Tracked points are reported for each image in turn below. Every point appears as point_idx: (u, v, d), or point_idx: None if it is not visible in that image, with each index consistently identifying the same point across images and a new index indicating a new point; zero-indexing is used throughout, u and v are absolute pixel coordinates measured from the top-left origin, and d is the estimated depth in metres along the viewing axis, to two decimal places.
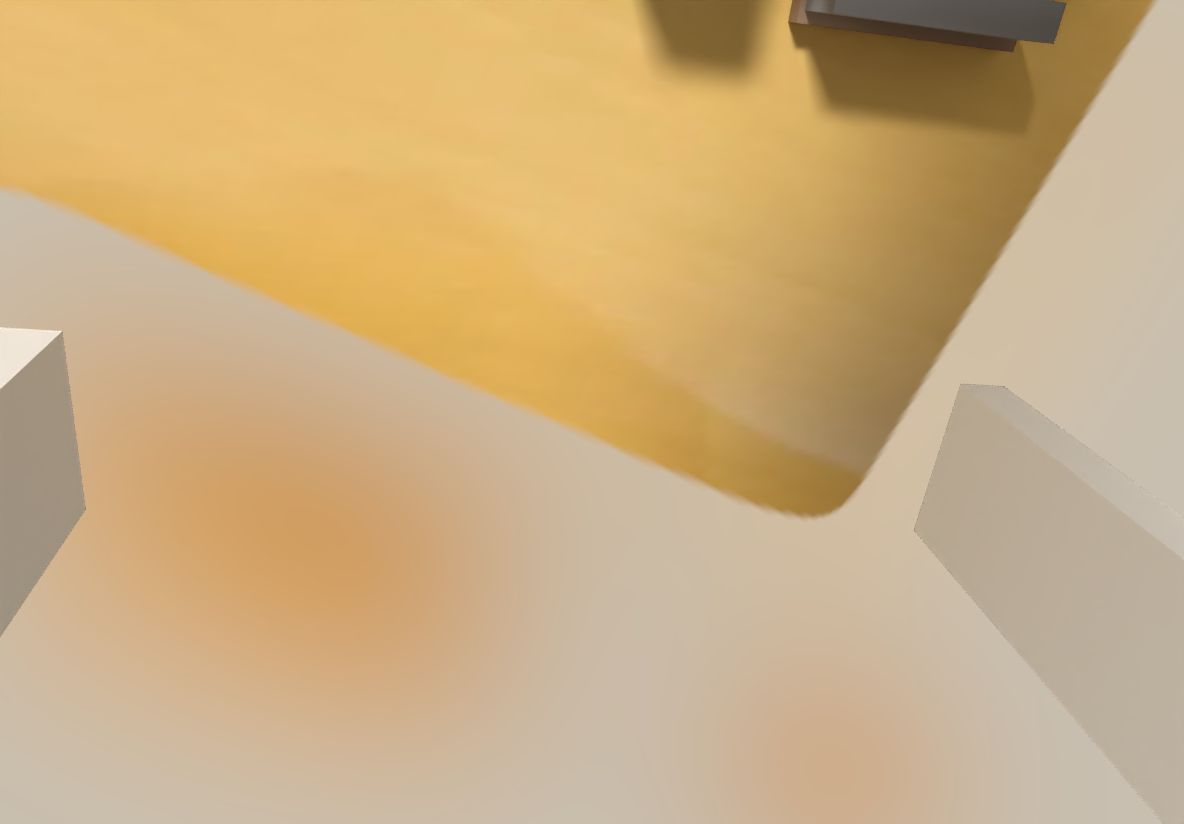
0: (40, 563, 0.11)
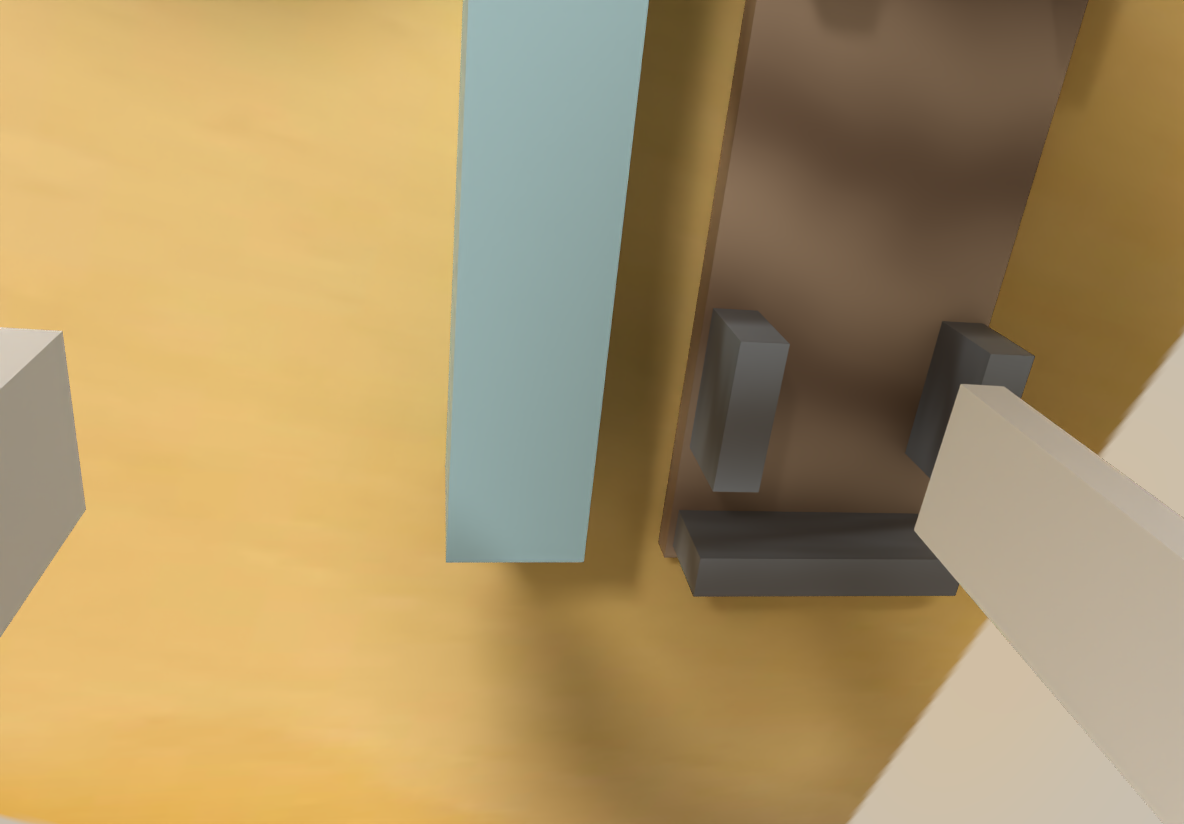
0: (40, 563, 0.11)
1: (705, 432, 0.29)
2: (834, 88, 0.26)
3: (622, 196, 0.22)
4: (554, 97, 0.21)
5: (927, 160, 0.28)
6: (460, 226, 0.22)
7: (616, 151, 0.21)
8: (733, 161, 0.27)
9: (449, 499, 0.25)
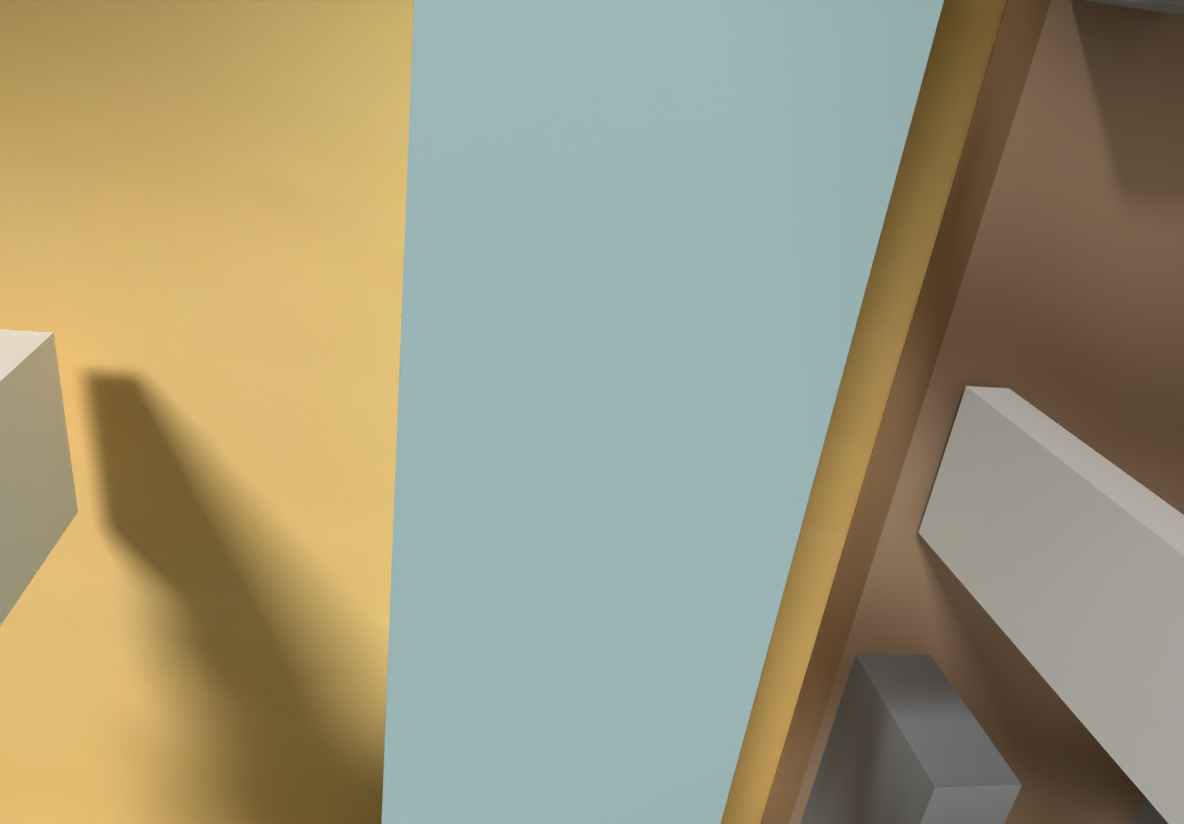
0: (31, 566, 0.11)
1: None
2: (1118, 308, 0.14)
3: (759, 647, 0.10)
4: (620, 468, 0.08)
5: None
6: (387, 722, 0.09)
7: (755, 566, 0.09)
8: (918, 430, 0.15)
9: None
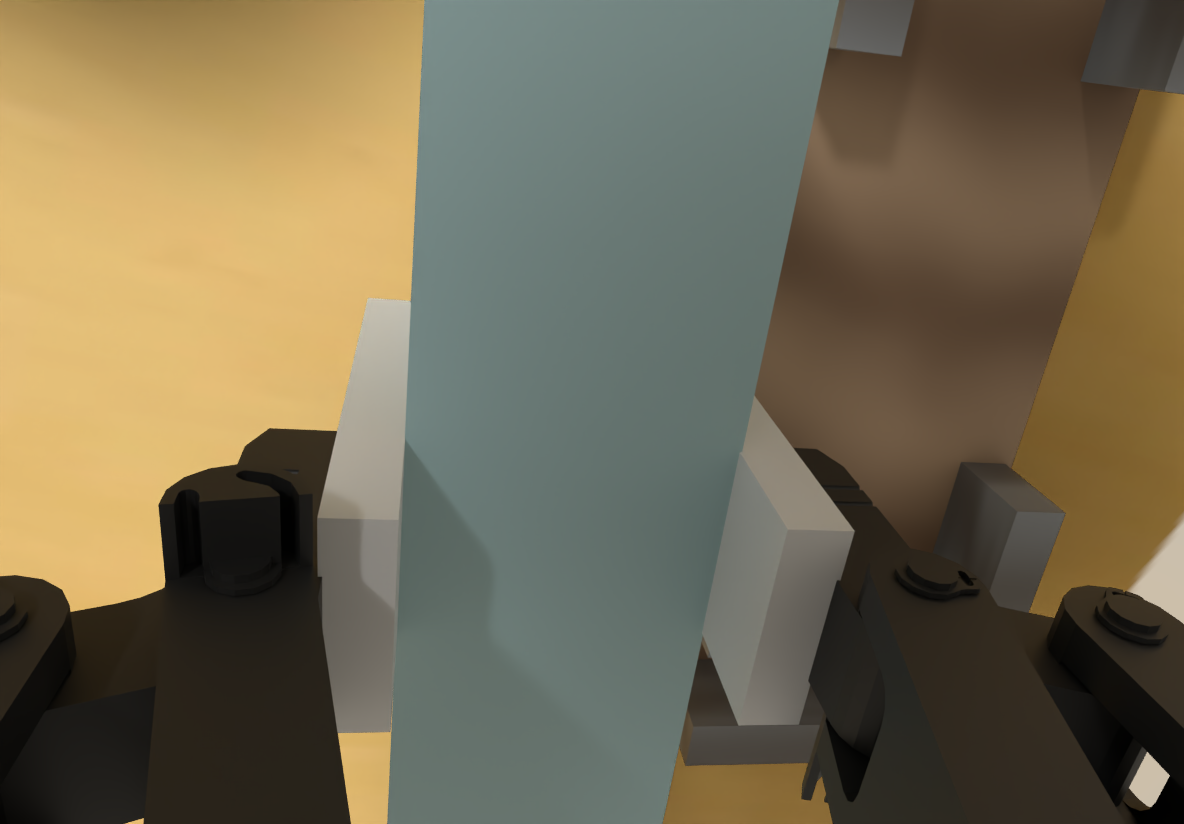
0: None
1: None
2: (845, 221, 0.24)
3: (706, 585, 0.12)
4: (586, 430, 0.10)
5: (947, 295, 0.25)
6: (397, 647, 0.11)
7: (699, 515, 0.11)
8: None
9: None
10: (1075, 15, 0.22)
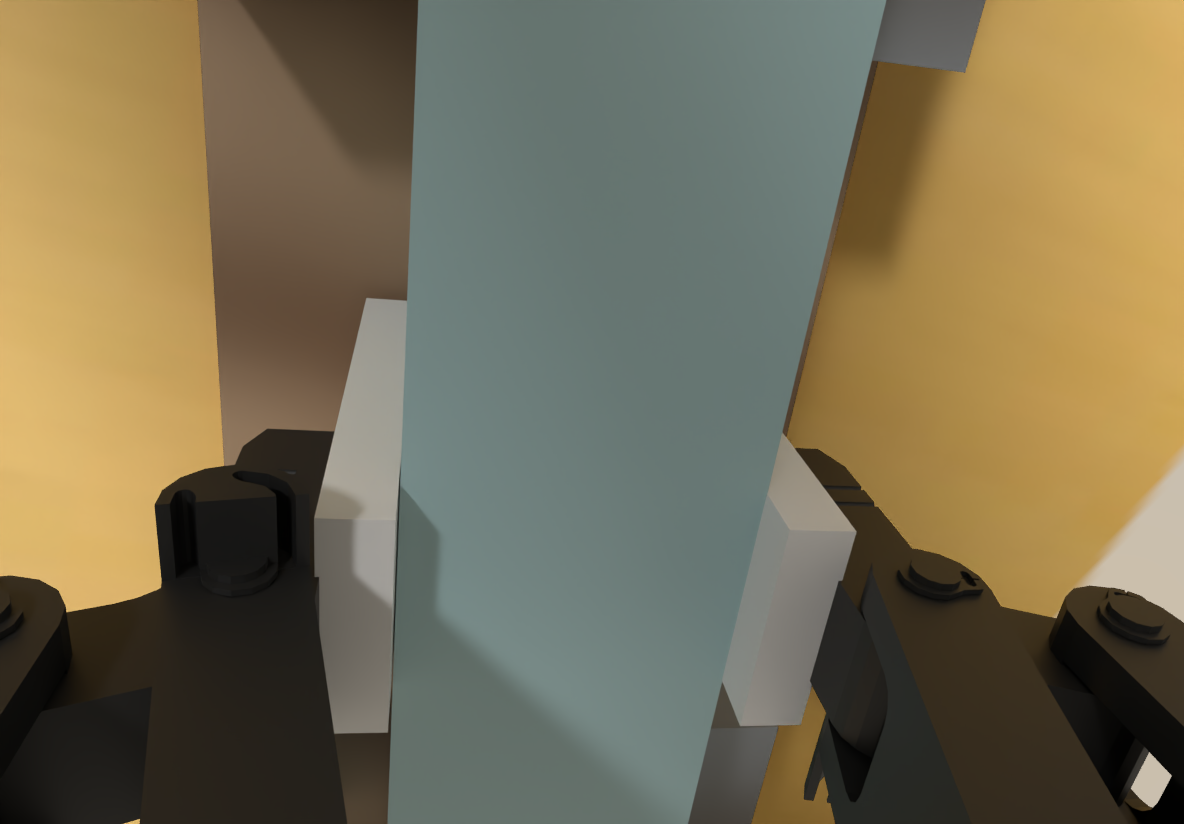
0: None
1: None
2: (396, 272, 0.14)
3: (726, 630, 0.11)
4: (598, 472, 0.10)
5: None
6: (394, 698, 0.10)
7: (721, 558, 0.10)
8: (230, 393, 0.15)
9: None
10: None
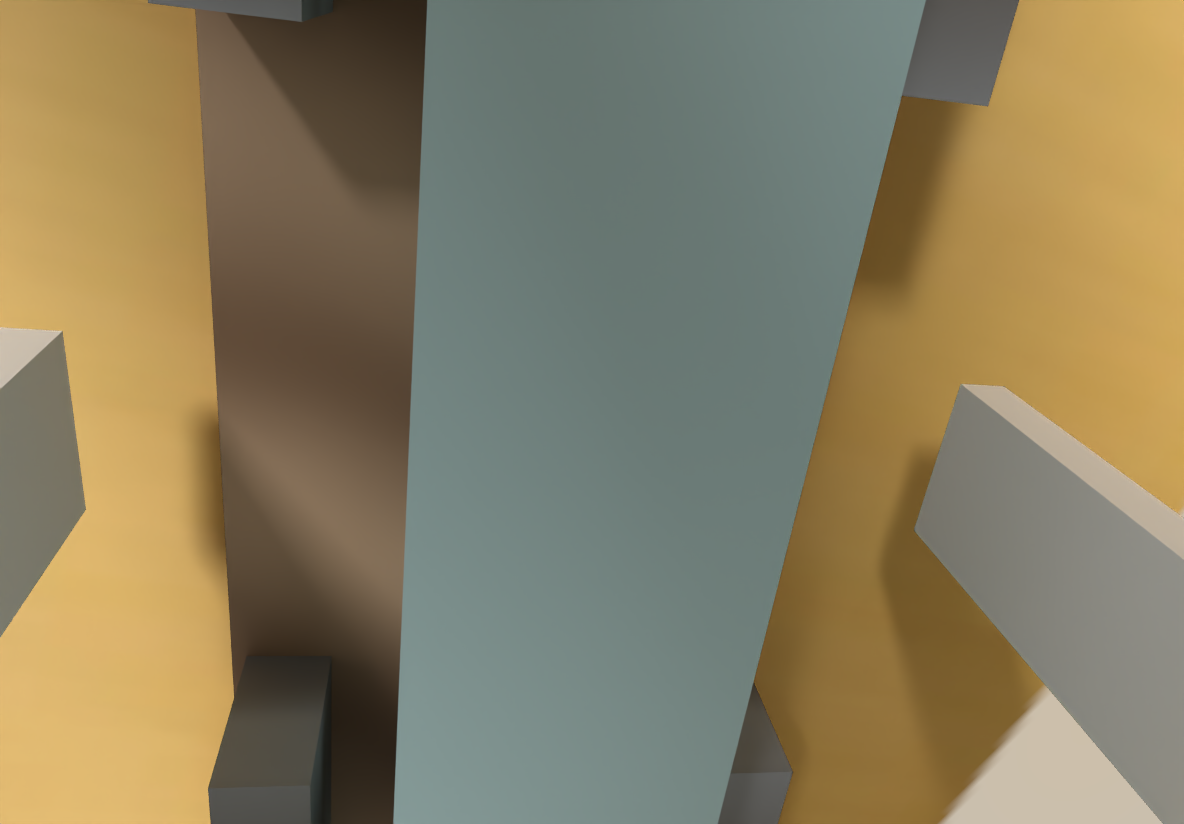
0: (40, 563, 0.11)
1: None
2: (400, 306, 0.14)
3: (744, 686, 0.10)
4: (611, 527, 0.09)
5: None
6: (398, 759, 0.10)
7: (739, 613, 0.10)
8: (229, 430, 0.15)
9: None
10: None
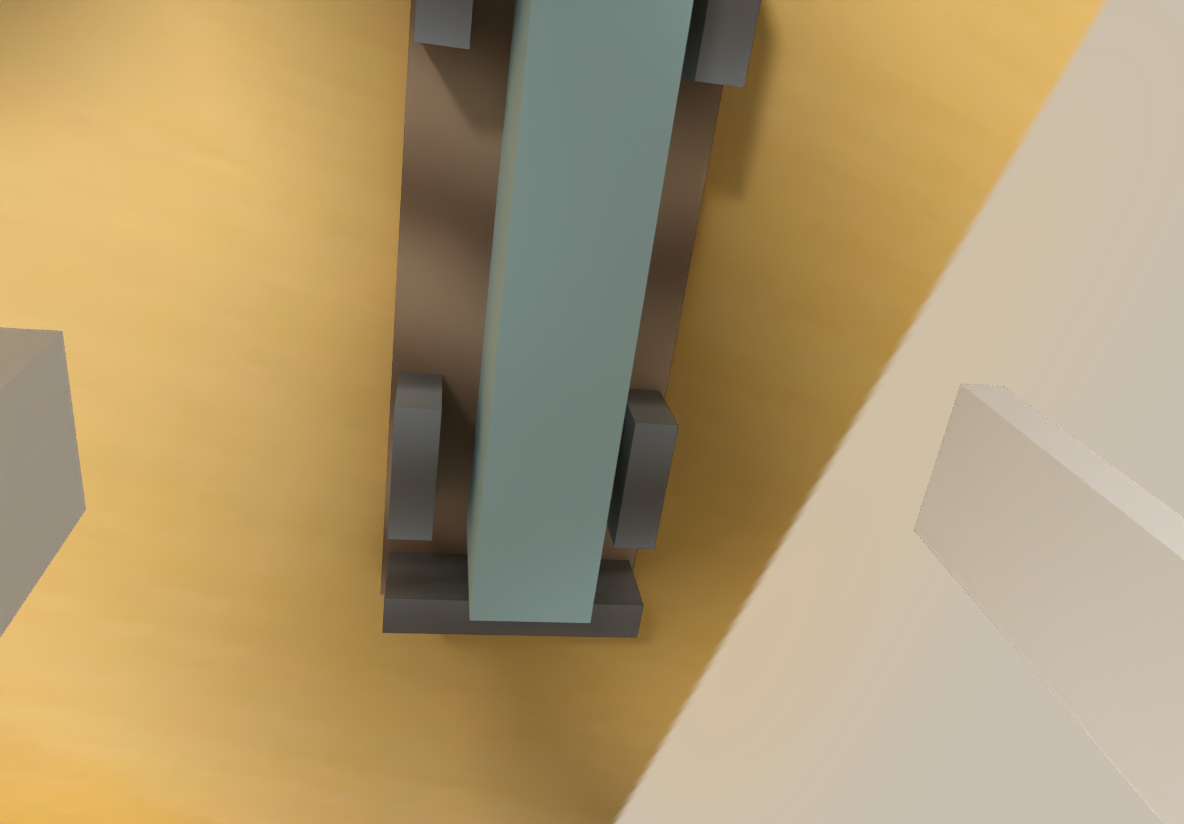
0: (41, 563, 0.11)
1: None
2: (488, 182, 0.29)
3: (637, 318, 0.26)
4: (583, 238, 0.24)
5: None
6: (498, 340, 0.25)
7: (634, 282, 0.25)
8: (402, 243, 0.30)
9: (475, 566, 0.28)
10: None
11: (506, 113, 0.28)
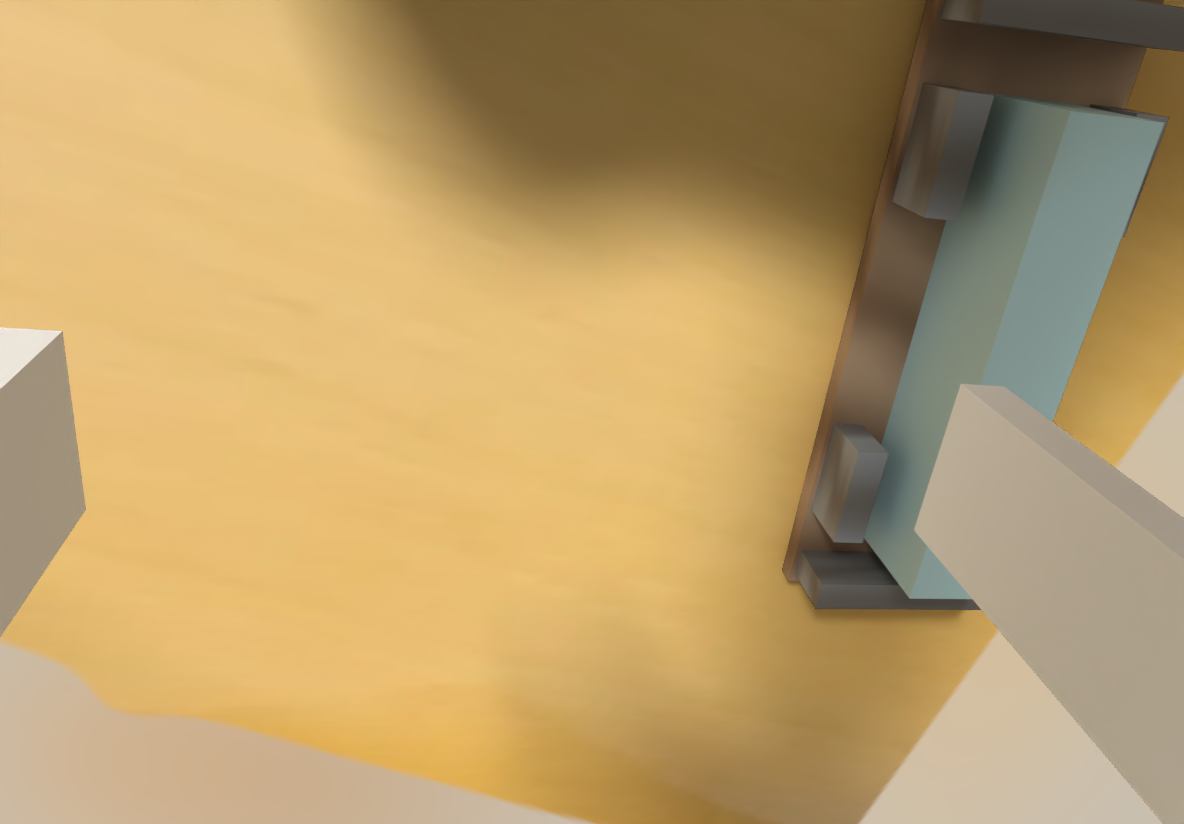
0: (40, 563, 0.11)
1: (826, 502, 0.45)
2: (918, 294, 0.42)
3: (1060, 395, 0.39)
4: (1038, 346, 0.37)
5: None
6: None
7: (1063, 372, 0.38)
8: (853, 336, 0.43)
9: (921, 561, 0.41)
10: None
11: (948, 251, 0.40)
